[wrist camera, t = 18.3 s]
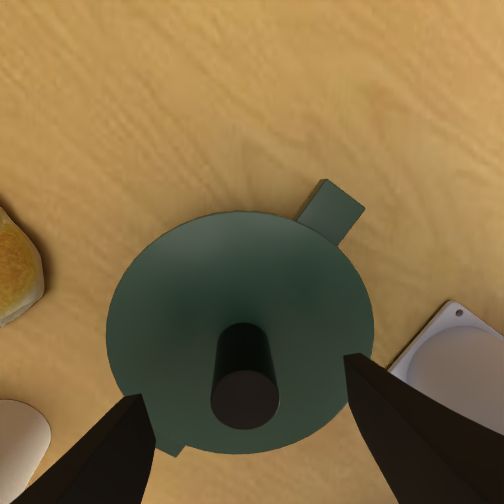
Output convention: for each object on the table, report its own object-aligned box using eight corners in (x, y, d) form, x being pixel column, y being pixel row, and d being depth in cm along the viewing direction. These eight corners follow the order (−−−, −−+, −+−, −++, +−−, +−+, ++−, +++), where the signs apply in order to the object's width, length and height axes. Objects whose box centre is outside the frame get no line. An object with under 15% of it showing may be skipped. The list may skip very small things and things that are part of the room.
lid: (413, 301, 14) (495, 354, 10) (270, 470, 16) (283, 578, 12) (205, 152, 12) (186, 131, 8) (69, 366, 14) (-9, 449, 10)
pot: (384, 242, 19) (445, 264, 13) (241, 422, 21) (242, 504, 16) (242, 135, 17) (245, 110, 11) (104, 348, 19) (51, 412, 14)
